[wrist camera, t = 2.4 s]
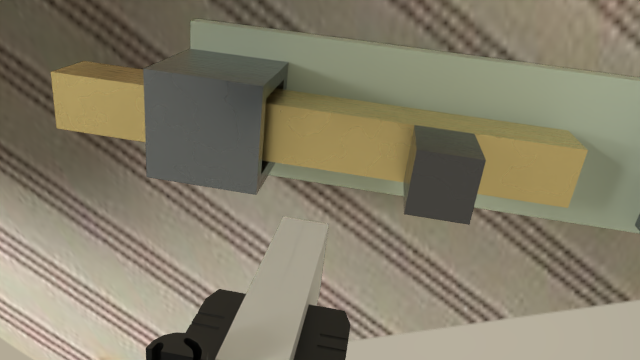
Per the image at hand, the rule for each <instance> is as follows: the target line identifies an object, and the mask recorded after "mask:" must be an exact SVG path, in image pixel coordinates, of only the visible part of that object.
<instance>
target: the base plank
mask: <svg viewBox="0 0 640 360" xmlns="http://www.w3.org/2000/svg"><path fill="white" fill-rule="evenodd" d="M190 49H197V50H204V51H212V52H219V53H226V54H233V55H240V56H248V57H255V58H262V59H269V60H277V61H284V62H289V64H288V76H287V88H286V90H290V91H297V92H304V93H311V94H318V95H325V96H332V97H339V98H346V99H353V100H360V101H367V102H374V103H381V104H388V105H395V106H402V107H409V108H416V109H423V110H429V111H436V112H443V113H450V114H457V115H464V116H471V117H478V118H485V119H492V120H499V121H506V122H513V123H520V124H527V125H534V126H541V127H548V128H555V129H562V130H568V131H569V132H570V133H571V134H572V135H573V136H574V137H575V138H576V139H577V140H578V141H579V142H580V143H581V144H582V145H583V146H584V147H585V148H586V149H587V150H588V152H587V155H586V157H585V160H584V163H583V166H582V169H581V172H580V175H579V178H578V181H577V184H576V186H575V189H574V192H573V195H572V198H571V201H570V204H569V207H568V208H564V207H558V206H552V205H545V204H539V203H532V202H526V201H519V200H513V199H507V198H500V197H494V196H487V195H481V194H477V197H476V201H475V205H474V208H480V209H486V210H493V211H499V212H505V213H512V214H518V215H524V216H531V217H537V218H543V219H550V220H556V221H562V222H569V223H575V224H581V225H588V226H594V227H600V228H607V229H613V230H619V231H625V232H632V233H638V234H640V231H639V230H638V229H637V227H636V226H635V223H636V221H637V219H638V216H639V214H640V78H639V77H632V76H624V75H617V74H609V73H602V72H594V71H587V70H579V69H572V68H564V67H557V66H549V65H541V64H534V63H526V62H519V61H511V60H504V59H496V58H489V57H481V56H474V55H466V54H459V53H451V52H444V51H436V50H429V49H421V48H414V47H406V46H399V45H391V44H384V43H376V42H369V41H361V40H354V39H346V38H339V37H331V36H324V35H316V34H309V33H301V32H294V31H286V30H279V29H271V28H264V27H256V26H249V25H241V24H234V23H226V22H219V21H211V20H204V19H195V20H192V21H190ZM269 175H271V176H278V177H284V178H290V179H297V180H303V181H309V182H316V183H322V184H328V185H335V186H341V187H347V188H353V189H360V190H366V191H372V192H379V193H385V194H391V195H398V196H404V189H403V182H397V181H391V180H385V179H378V178H372V177H365V176H359V175H353V174H346V173H340V172H333V171H327V170H320V169H314V168H308V167H301V166H295V165H288V164H282V163H275V165H274V166H273V168H272V170H271V171H270V173H269Z"/></svg>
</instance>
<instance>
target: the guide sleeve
mask: <svg viewBox="0 0 640 360" xmlns="http://www.w3.org/2000/svg"><path fill="white" fill-rule="evenodd" d="M288 64H289V62H284V61H277V60H269V59H262V58H255V57H248V56H240V55H233V54H226V53H219V52H212V51H204V50H197V49H188V50H186V51H183V52H181V53H179V54H176V55H174V56H172V57H169V58H167V59H165V60H162V61H160V62H158V63H156V64H153V65H151V66H149V67H146V68H144V69H143V78H144V109H145V139H146V169H147V177H150V178H156V179H162V180H168V181H175V182H181V183H187V184H193V185H199V186H205V187H212V188H218V189H224V190H230V191H236V192H243V193H249V194H255V195H256V194H257V193H258V191H259V189H260V188H261V186H262V184H263V183H264V181H265V179H266V178H267V176H268V175H269V173H270V171H271V170H272V168H273V166H274V165H275V163H276V162H269V161H263V160H262V152H263V137H264V122H265V107H266V98H267V97H268V96H269V95H270V94H271V92H272V91H273V90H274V89H275V88H276V89H283V90H286V88H287V76H288Z"/></svg>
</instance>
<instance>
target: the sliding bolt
mask: <svg viewBox="0 0 640 360" xmlns="http://www.w3.org/2000/svg"><path fill="white" fill-rule="evenodd" d="M51 80H52V90H53V99H54V108H55V118H56V127H57V129H64V130H70V131H77V132H83V133H89V134H96V135H102V136H109V137H115V138H121V139H128V140H134V141H141V142H146V139H145V109H144V78H143V69H136V68H129V67H122V66H115V65H108V64H101V63H94V62H87V61H82V62H79V63H76V64H73V65H70V66H67V67H64V68H61V69H58V70H55V71H52V72H51ZM587 152H588V150H587V149H586V148H585V147H584V146H583V145H582V144H581V143H580V142H579V141H578V140H577V139H576V138H575V137H574V136H573V135H572V134H571V133H570V132H569V131H568V130H562V129H555V128H548V127H541V126H534V125H527V124H520V123H513V122H506V121H499V120H492V119H485V118H478V117H471V116H464V115H457V114H450V113H443V112H436V111H429V110H423V109H416V108H409V107H402V106H395V105H388V104H381V103H374V102H367V101H360V100H353V99H346V98H339V97H332V96H325V95H318V94H311V93H304V92H297V91H290V90H283V89H276V88H275V89H274V90H273V91H272V92H271V94H270V95H269V96H268V97H267V98H266V107H265V122H264V137H263V152H262V160H263V161H269V162H276V163H282V164H288V165H295V166H301V167H308V168H314V169H320V170H327V171H333V172H340V173H346V174H353V175H359V176H365V177H372V178H378V179H385V180H391V181H397V182H403V189H404V214H407V215H413V216H419V217H425V218H432V219H438V220H444V221H450V222H456V223H463V224H470V220H471V216H472V212H473V208H474V205H475V201H476V197H477V194H481V195H487V196H494V197H500V198H507V199H513V200H519V201H526V202H532V203H539V204H545V205H552V206H558V207H564V208H568V207H569V204H570V201H571V198H572V195H573V192H574V189H575V186H576V184H577V181H578V178H579V175H580V172H581V169H582V166H583V163H584V160H585V157H586V155H587Z"/></svg>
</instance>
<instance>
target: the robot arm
mask: <svg viewBox="0 0 640 360" xmlns="http://www.w3.org/2000/svg"><path fill="white" fill-rule="evenodd" d="M328 226H329V224H326V223H320V222H314V221H308V220H302V219H297V218H291V217H285V216H283V218H282V220H281V222H280V224H279V226H278V228H277V230H276V233H275V235H274V237H273V239H272V241H271V243H270V245H269V247H268V249H267V251H266V254H265V256H264V258H263V260H262V262H261V264H260V266H259V268H258V270H257V272H256V274H255V277H254V279H253V281H252V283H251V285H250V287H249V289H248V291H247V293H246V294H243V293H238V292H233V291H227V290H222V289H219V290H217V291H216V292H215V293H213V294H212V295H210V296H209V297H208V298H206V299H205V301H204V302H203V304H202V306H201V308H200V309H199V311H198V314H196V316H195V318H194V319H193V321H192V324H191V325H190V326H189V328H188V330H187V331H186V333H172V334H167V335H163V336H161V337H159V338H157V339H155V340H153V341H152V342H151V343H150V344H149V345H148V346H147V347H146V360H345V358H346V351H347V344H348V338H349V331H350V323H349V320H348V318H347V315H346V313H345V311H342V310H336V309H331V308H326V307H320V306H317V302H318V298H319V294H320V287H321V279H322V271H323V264H324V256H325V249H326V241H327V234H328Z"/></svg>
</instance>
